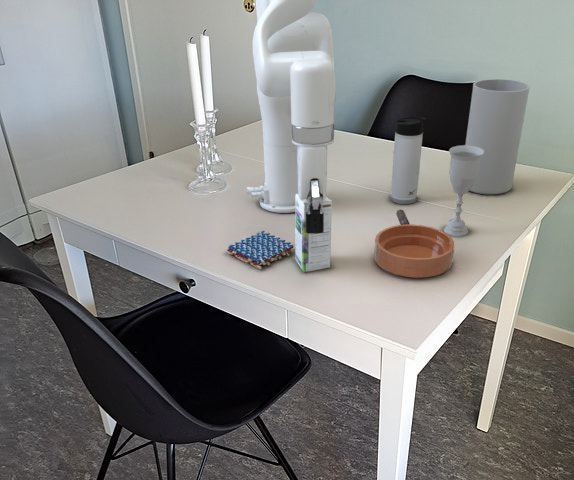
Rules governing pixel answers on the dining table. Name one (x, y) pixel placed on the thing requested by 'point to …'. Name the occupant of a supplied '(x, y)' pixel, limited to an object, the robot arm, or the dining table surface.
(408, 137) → the travel mug
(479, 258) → the dining table surface
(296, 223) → the syrup box
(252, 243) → the woven mat
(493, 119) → the cylinder vase
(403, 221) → the pan handle
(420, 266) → the pan
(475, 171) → the chalice
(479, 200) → the dining table surface
